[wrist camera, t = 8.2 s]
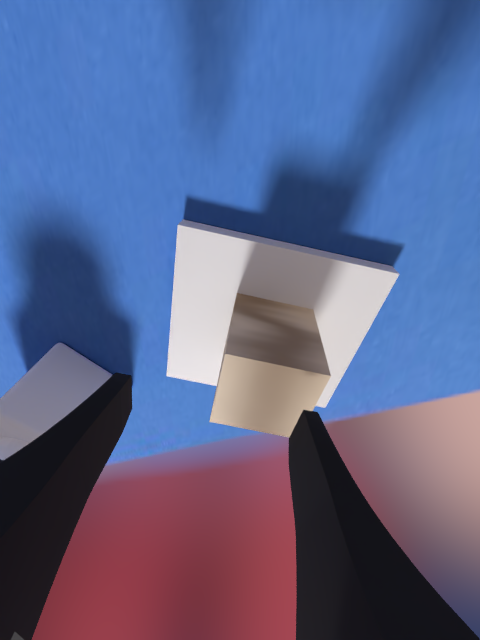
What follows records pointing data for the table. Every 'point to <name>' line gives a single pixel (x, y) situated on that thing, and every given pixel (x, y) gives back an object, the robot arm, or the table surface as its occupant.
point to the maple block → (269, 367)
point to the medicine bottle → (46, 396)
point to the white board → (266, 296)
